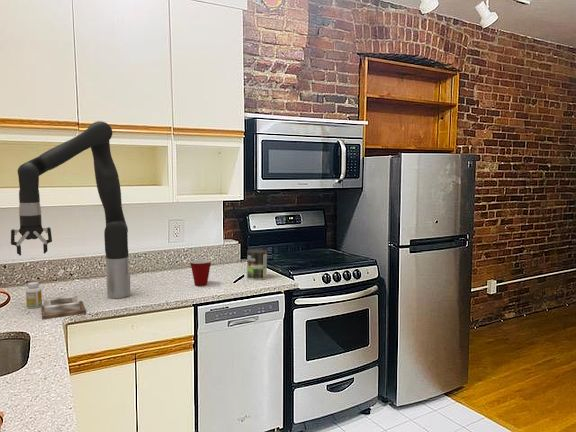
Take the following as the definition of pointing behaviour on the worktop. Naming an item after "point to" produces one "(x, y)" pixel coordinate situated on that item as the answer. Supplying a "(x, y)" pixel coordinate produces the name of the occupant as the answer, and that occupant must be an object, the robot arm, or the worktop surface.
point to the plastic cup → (200, 271)
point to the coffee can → (256, 264)
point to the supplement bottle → (33, 295)
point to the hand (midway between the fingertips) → (32, 254)
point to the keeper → (62, 307)
